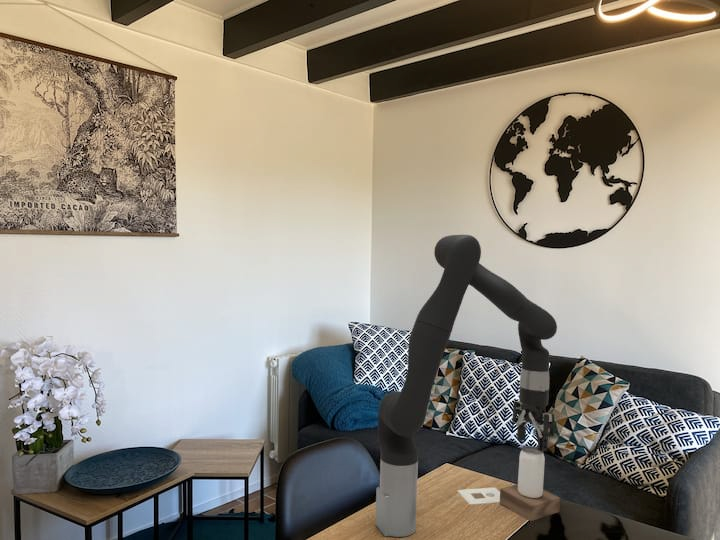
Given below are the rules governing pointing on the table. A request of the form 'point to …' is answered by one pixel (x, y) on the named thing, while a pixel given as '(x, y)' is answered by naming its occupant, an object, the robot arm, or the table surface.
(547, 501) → the base block
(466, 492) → the page
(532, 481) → the can
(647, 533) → the table surface
